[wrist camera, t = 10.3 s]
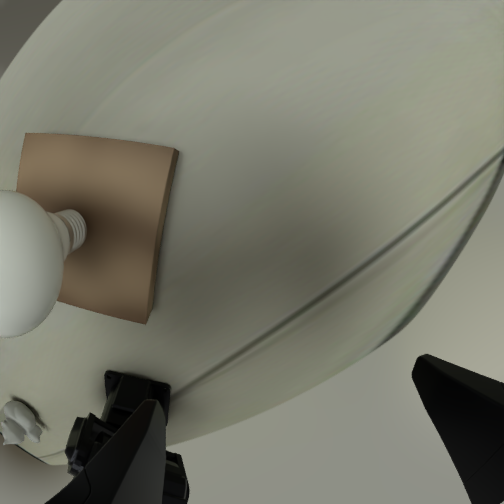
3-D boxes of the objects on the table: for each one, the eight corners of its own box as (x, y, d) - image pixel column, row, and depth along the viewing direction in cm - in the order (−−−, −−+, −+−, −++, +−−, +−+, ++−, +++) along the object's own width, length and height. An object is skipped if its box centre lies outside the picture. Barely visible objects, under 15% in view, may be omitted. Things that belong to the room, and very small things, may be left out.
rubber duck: (16, 389, 21) (-9, 428, 13) (53, 422, 23) (34, 464, 15) (7, 399, 21) (-15, 435, 14) (40, 429, 23) (24, 467, 16)
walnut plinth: (152, 308, 20) (146, 324, 18) (31, 276, 18) (16, 286, 16) (179, 151, 18) (174, 148, 15) (42, 135, 15) (25, 132, 13)
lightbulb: (27, 222, 15) (-82, 272, 4) (78, 160, 14) (-50, 160, 4) (77, 289, 17) (-9, 386, 6) (133, 234, 16) (39, 319, 6)
